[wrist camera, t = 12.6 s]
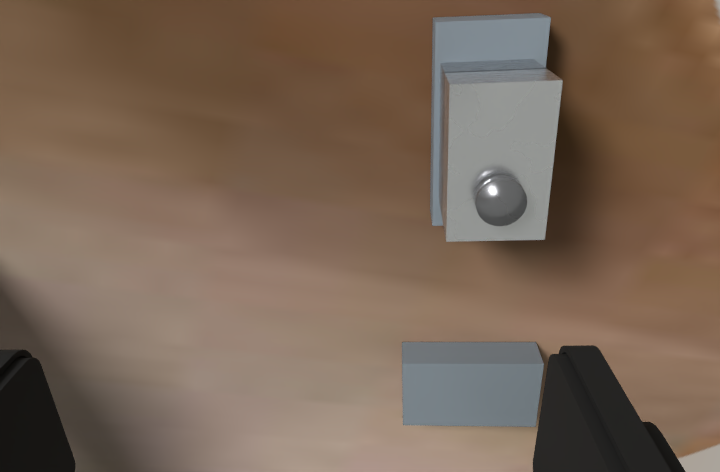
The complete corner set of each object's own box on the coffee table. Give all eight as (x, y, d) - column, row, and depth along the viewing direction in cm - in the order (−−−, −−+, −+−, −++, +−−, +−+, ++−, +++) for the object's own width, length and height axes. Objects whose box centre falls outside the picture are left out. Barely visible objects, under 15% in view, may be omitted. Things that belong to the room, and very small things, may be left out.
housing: (440, 62, 30) (451, 89, 24) (533, 58, 30) (569, 84, 24) (438, 197, 34) (447, 250, 28) (521, 195, 33) (549, 248, 27)
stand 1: (430, 209, 37) (432, 225, 35) (432, 17, 31) (435, 22, 29) (521, 208, 36) (529, 224, 34) (539, 13, 31) (550, 17, 29)
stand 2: (402, 401, 45) (403, 425, 42) (401, 342, 42) (402, 363, 40) (528, 402, 44) (535, 426, 42) (535, 342, 41) (543, 364, 39)
